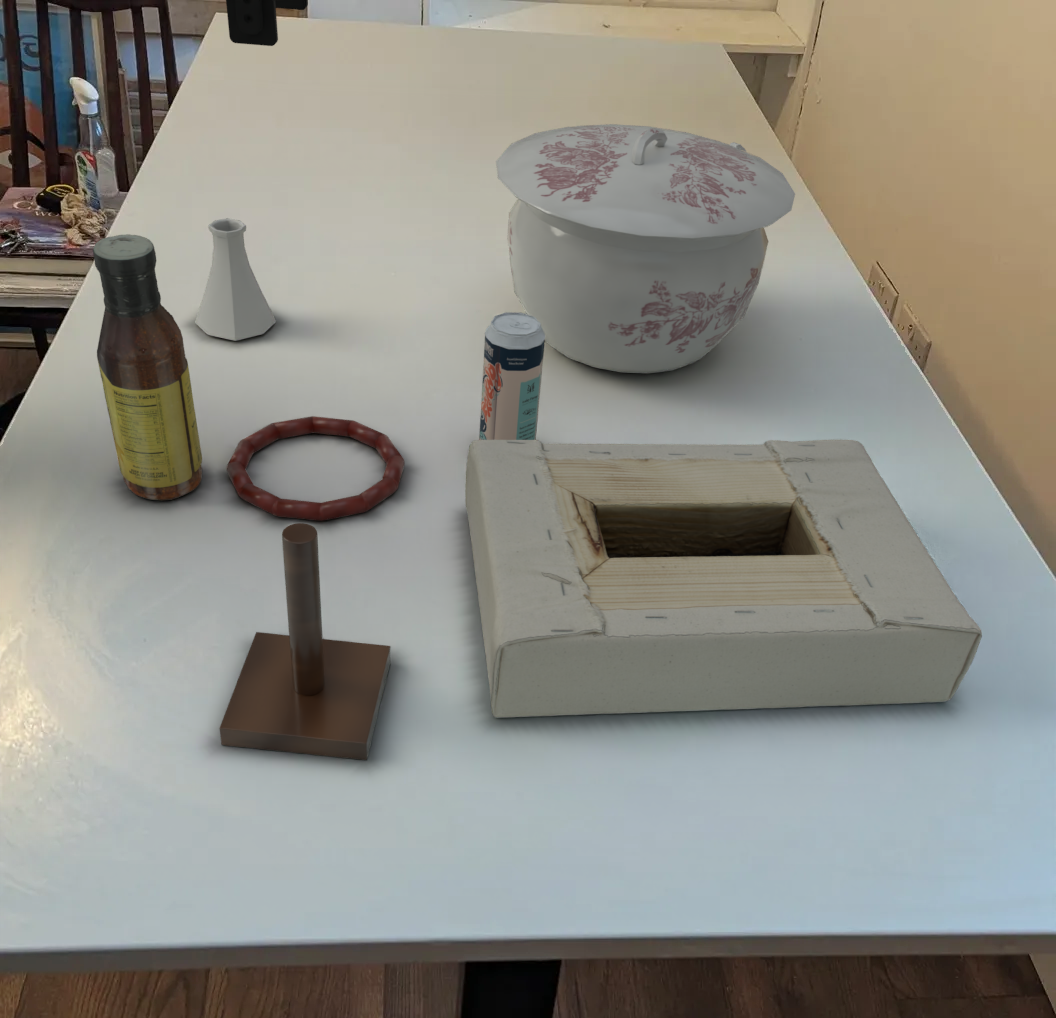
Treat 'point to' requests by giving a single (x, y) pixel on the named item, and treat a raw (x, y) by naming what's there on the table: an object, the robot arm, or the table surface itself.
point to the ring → (307, 508)
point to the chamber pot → (637, 240)
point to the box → (703, 580)
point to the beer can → (511, 377)
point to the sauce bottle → (145, 375)
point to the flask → (232, 288)
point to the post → (306, 674)
